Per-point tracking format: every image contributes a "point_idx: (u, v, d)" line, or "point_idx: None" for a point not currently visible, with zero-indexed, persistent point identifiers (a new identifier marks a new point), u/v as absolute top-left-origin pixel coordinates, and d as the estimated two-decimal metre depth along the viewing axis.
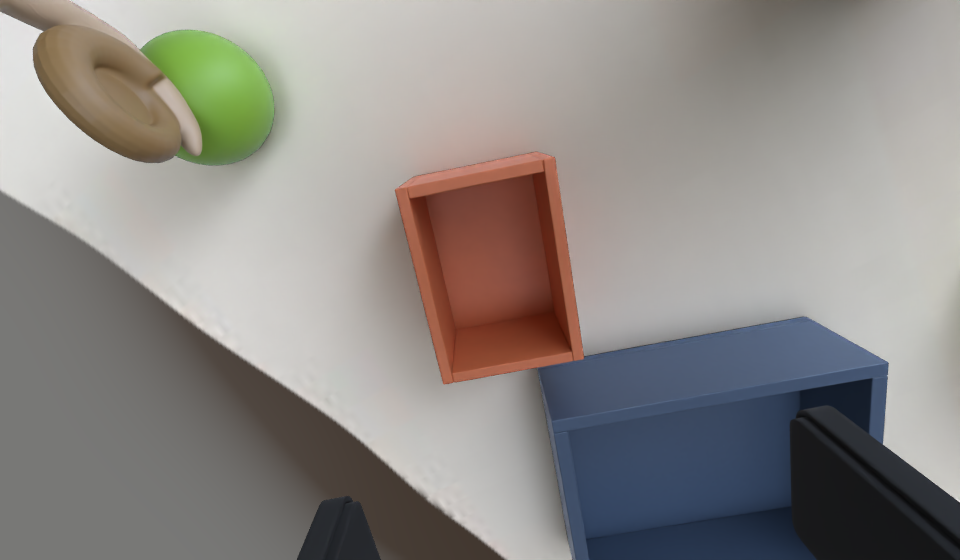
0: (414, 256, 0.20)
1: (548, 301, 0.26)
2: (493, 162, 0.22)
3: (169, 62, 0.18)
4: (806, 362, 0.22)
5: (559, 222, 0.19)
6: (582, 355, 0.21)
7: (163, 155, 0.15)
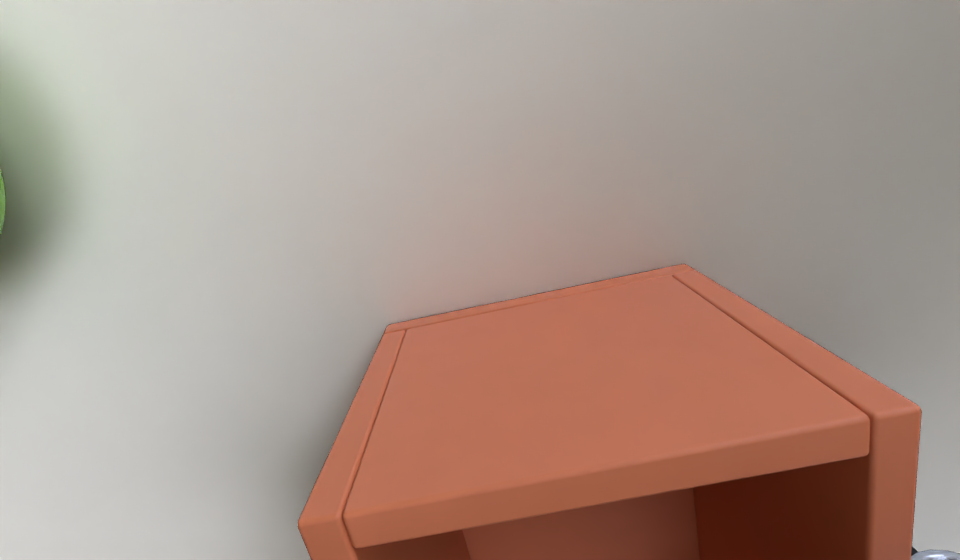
0: None
1: None
2: (594, 311, 0.09)
3: None
4: None
5: None
6: None
7: None
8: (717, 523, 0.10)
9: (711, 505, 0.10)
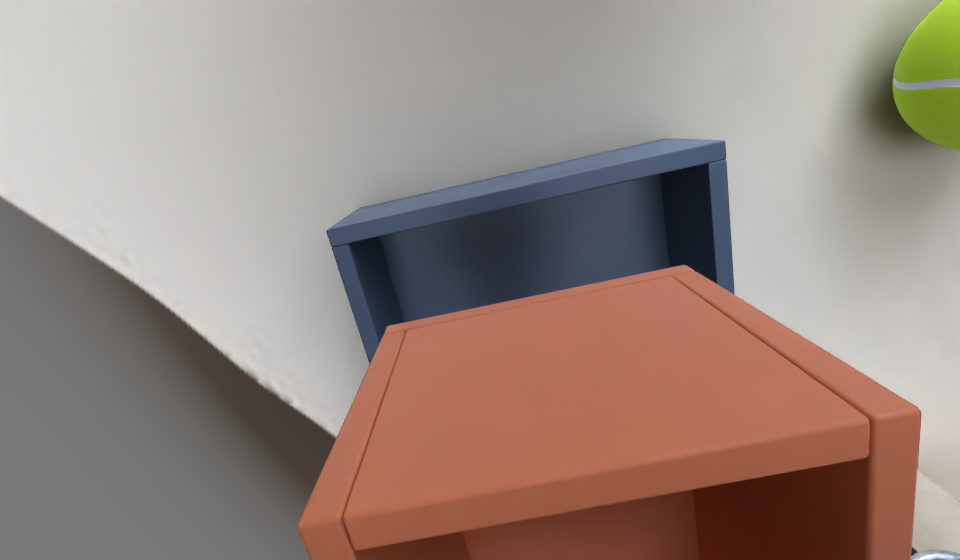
0: None
1: None
2: (594, 312, 0.09)
3: None
4: (636, 156, 0.19)
5: None
6: None
7: None
8: (717, 524, 0.10)
9: (711, 506, 0.10)
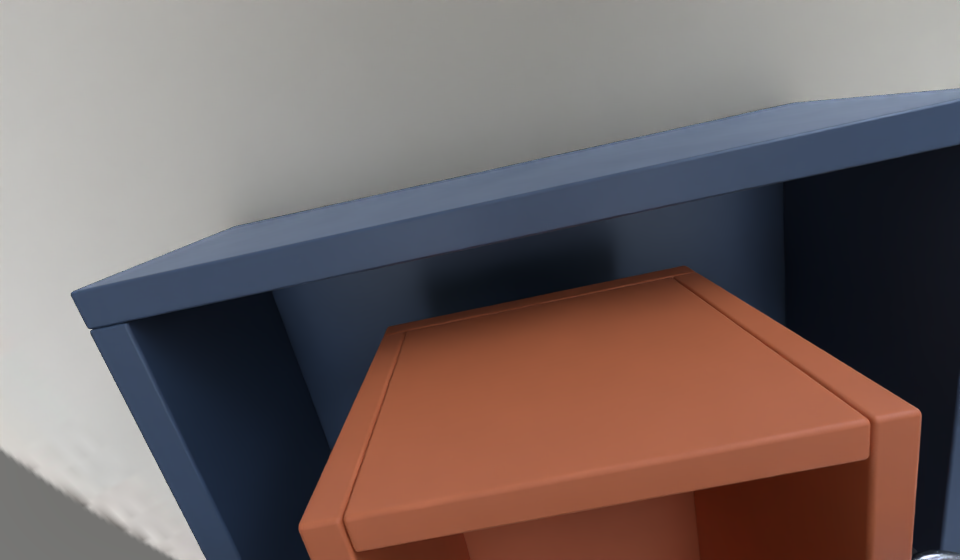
0: None
1: None
2: (594, 313, 0.09)
3: None
4: (790, 125, 0.08)
5: None
6: None
7: None
8: (717, 525, 0.10)
9: (711, 507, 0.10)
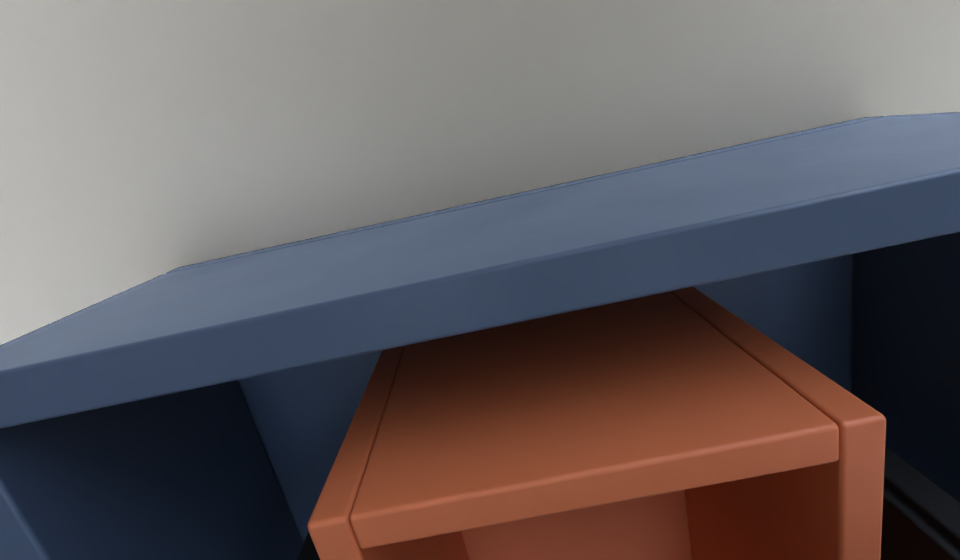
0: None
1: None
2: (588, 321, 0.09)
3: None
4: (915, 153, 0.06)
5: None
6: None
7: None
8: (707, 525, 0.10)
9: (702, 508, 0.10)
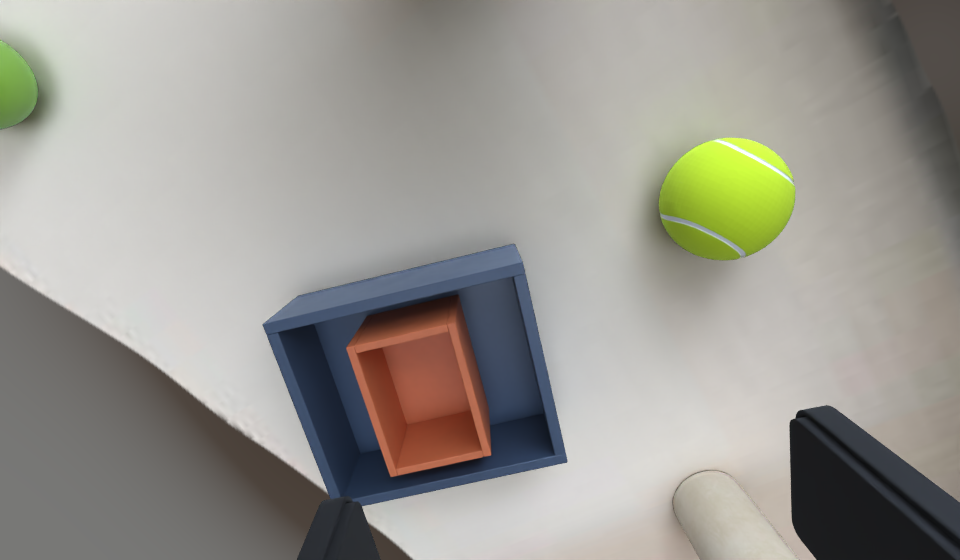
0: (362, 390, 0.28)
1: None
2: (423, 309, 0.31)
3: None
4: (471, 269, 0.27)
5: (462, 364, 0.27)
6: (489, 452, 0.29)
7: None
8: None
9: None
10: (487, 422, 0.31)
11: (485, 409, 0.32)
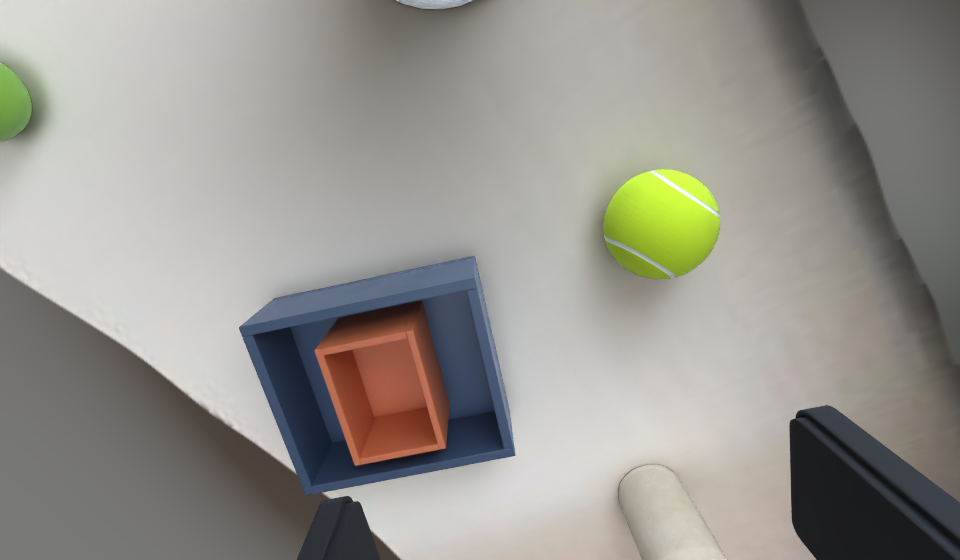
0: (329, 388, 0.31)
1: None
2: (388, 314, 0.33)
3: None
4: (430, 282, 0.30)
5: (420, 367, 0.30)
6: (444, 446, 0.32)
7: None
8: None
9: None
10: (445, 418, 0.34)
11: (444, 406, 0.35)
